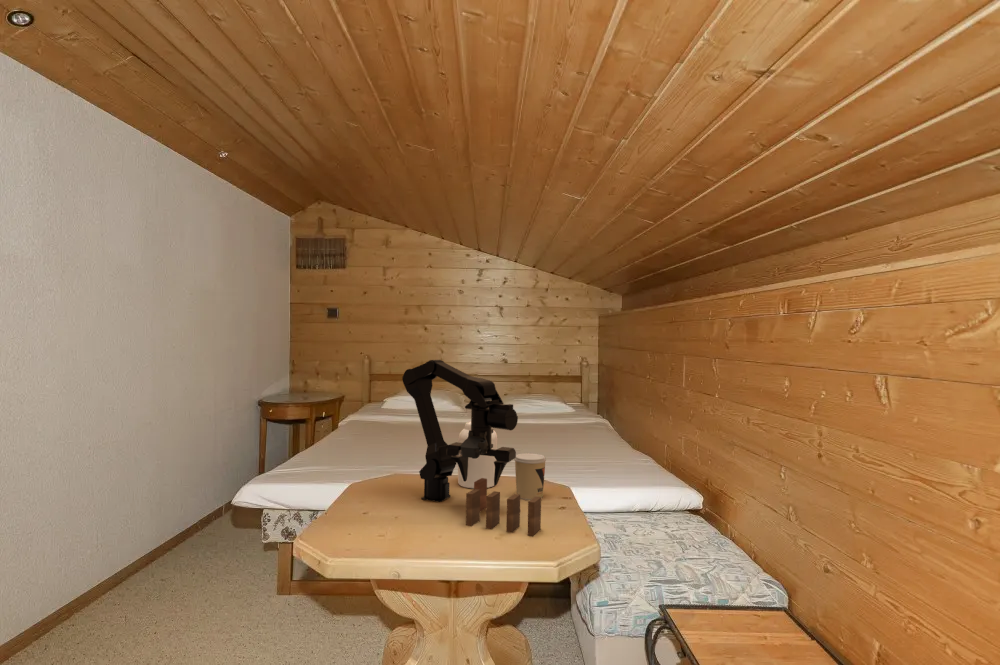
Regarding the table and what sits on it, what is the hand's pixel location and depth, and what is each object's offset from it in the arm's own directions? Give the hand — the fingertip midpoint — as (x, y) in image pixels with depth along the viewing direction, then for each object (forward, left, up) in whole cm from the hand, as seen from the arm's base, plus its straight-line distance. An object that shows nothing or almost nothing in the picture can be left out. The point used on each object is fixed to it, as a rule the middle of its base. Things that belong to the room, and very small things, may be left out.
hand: (480, 483), depth 156 cm
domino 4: (+14, -11, -7) cm, 19 cm away
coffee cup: (+8, +18, -7) cm, 21 cm away
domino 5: (+20, -11, -7) cm, 24 cm away
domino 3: (+9, -11, -7) cm, 16 cm away
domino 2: (0, 0, -7) cm, 7 cm away
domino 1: (+3, -11, -7) cm, 14 cm away
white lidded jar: (-12, +24, -7) cm, 28 cm away
